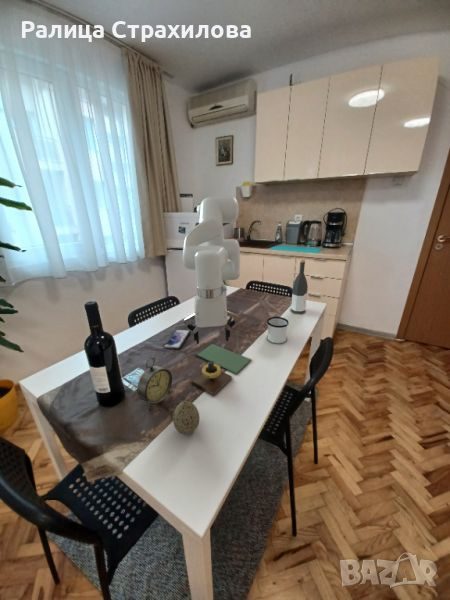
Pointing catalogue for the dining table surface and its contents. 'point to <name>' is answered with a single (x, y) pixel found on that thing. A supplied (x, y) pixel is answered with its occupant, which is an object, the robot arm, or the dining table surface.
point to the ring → (211, 375)
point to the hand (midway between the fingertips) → (212, 340)
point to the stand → (212, 380)
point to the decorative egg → (186, 417)
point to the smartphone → (177, 339)
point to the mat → (224, 358)
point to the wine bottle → (299, 291)
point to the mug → (277, 329)
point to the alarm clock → (154, 384)
